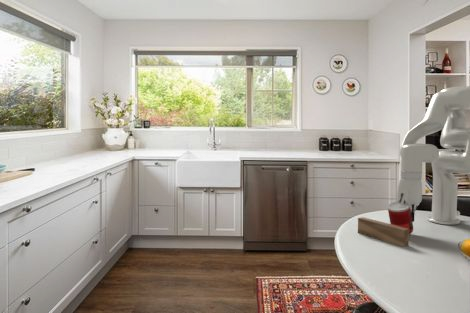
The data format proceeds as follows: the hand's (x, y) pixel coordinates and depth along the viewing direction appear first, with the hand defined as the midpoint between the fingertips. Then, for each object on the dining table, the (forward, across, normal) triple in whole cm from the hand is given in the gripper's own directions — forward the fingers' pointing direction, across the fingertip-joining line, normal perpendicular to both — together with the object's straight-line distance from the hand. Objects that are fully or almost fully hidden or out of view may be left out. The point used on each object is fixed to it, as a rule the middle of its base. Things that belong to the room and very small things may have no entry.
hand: (409, 221), depth 145 cm
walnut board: (+5, +17, 0) cm, 17 cm away
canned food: (+4, +4, 0) cm, 5 cm away
